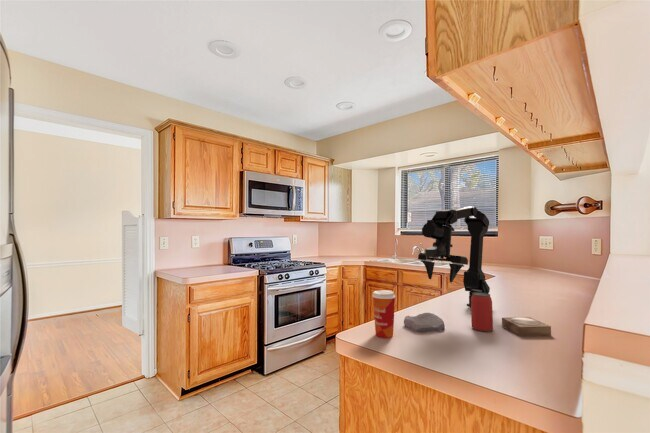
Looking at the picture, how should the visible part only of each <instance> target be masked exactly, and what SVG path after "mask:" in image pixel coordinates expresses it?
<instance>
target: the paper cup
mask: <svg viewBox="0 0 650 433" xmlns="http://www.w3.org/2000/svg"><path fill="white" fill-rule="evenodd" d="M371 297H372V303H373V315H374V316H373V317H374V330H375V336H376V337H377V338H381V339H390V338H392V337H394V326H395V325H394V324H395V323H394V322H395V301H396V300H395V298H396V295H395V292H394V291H392V290H387V289H385V290H384V289H381V290H374V291H373V292H372V295H371Z"/></svg>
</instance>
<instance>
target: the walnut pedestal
mask: <svg viewBox="0 0 650 433" xmlns="http://www.w3.org/2000/svg"><path fill="white" fill-rule="evenodd" d="M501 327H503V328H505V329H507V330H508V331H510V332H512V333H513V334H515V335H518V336H519V337H550V336H549V335H551V336H552V326H551V325H549V324H546V323H544V322H542V321H540V320H537V319H535V318H533V317H531V316H526V317H525V316H524V317H522V316H519V317H517V316H515V317H501Z"/></svg>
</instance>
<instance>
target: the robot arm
mask: <svg viewBox="0 0 650 433" xmlns="http://www.w3.org/2000/svg"><path fill="white" fill-rule="evenodd" d="M460 219H464V223H465V225H467V231H468V233H469V234H470V247H469V248H470V249H469V250H470V252H469V260H468V258H467V256H462V255H454V254H453V255H452V254H451V248H453V244H452V232H455V231H456V230H455V228H454V227H453V226H452V225H453V224H455V223H457V222H458V220H460ZM489 226H490V220H489V218H488V217H487V215H486V214H485V213H483V212H482V211H481V210H478V208H477V207H476V206H464V207H462V208H461V207H460V208H457V209H438V210H436V211H435V214H433V217H432V218H431V219H427V221H426V223H424V225H422V228H421V234H422V235H423V236H424V238H429V239H433V240H435V241H433V243H432V246H429V247H426V248H424V252H419V253H418V255H417V260H420V263H422V264H423V265H424V268H425V270H426V274H427V277H428V279H429V280H432V278H433V273H434V268H435V263H436V262H433V261H441V262H449V263H448V265H449V268H450V269H449V283H453V281H454V280H455V278H456V277H457V275H458V273H459V272H460V270H461V269H462V268H464V267H465V265H466V266H468V269H467V270H466V271H464V272H463V279H462V282H463V287H464V291H465V292H468V303H466V306H470V307H471V297H472V295H473V294H472V293H474V292H483V293H488V294H490V289H491V288H490V286H489V284H488V283H487V281H486V275H485V274H484V270H482V268H483V267H482V265H483V250H484V236H485V235H486V234H487V233H488V231H489Z"/></svg>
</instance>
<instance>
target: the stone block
mask: <svg viewBox="0 0 650 433" xmlns="http://www.w3.org/2000/svg"><path fill="white" fill-rule="evenodd" d="M403 325H404V326H405V327H406V328H408V329H411V330H412V331H413V332H415V333H416V332H421V333H423V332H440V331H443V330H445V326H446V325H445V321H444V320H443V319H442V318H441V317H439V316H438V315H437V314H434V313H430V312H423V313H418V314H417V315H414V316H413V315H412V316H411V315H406V316H405V317H404V319H403Z"/></svg>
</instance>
